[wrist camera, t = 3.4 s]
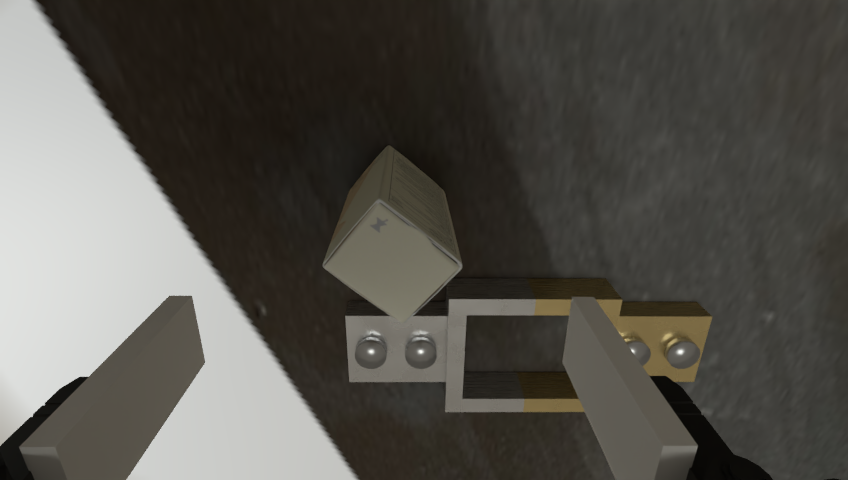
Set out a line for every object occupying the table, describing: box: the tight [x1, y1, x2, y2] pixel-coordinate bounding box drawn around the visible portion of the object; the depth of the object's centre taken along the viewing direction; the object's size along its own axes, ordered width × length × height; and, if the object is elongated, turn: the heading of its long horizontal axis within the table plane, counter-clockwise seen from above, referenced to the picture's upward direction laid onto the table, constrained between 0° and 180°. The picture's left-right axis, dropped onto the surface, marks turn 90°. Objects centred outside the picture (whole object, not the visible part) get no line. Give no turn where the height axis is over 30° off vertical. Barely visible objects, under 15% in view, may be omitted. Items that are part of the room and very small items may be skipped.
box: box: [323, 145, 462, 324], centre depth 26 cm, size 5×4×11 cm
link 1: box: [345, 278, 536, 412], centre depth 34 cm, size 13×9×3 cm
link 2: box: [517, 278, 712, 412], centre depth 34 cm, size 13×9×3 cm
